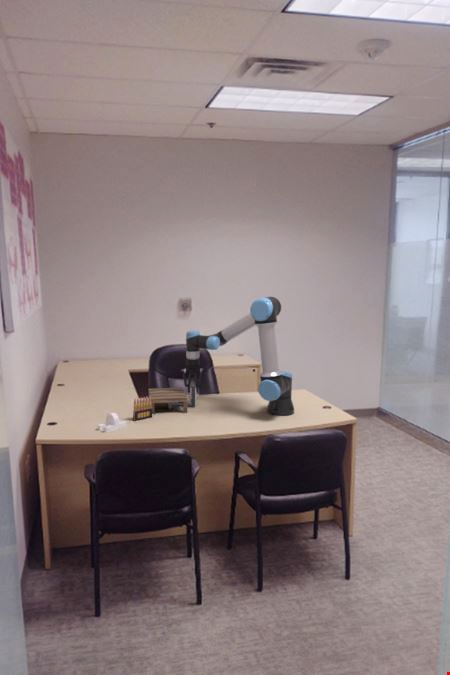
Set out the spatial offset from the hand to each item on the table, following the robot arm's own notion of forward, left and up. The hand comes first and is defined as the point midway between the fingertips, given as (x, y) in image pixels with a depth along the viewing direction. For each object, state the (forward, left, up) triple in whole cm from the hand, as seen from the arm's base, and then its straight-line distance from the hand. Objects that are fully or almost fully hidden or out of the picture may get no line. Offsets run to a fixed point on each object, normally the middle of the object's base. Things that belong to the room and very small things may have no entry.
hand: (192, 398), depth 289 cm
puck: (0, +9, -5) cm, 11 cm away
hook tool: (0, +7, -4) cm, 8 cm away
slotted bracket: (-31, +45, -5) cm, 55 cm away
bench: (0, +15, -5) cm, 16 cm away
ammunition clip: (-19, +29, -5) cm, 35 cm away
